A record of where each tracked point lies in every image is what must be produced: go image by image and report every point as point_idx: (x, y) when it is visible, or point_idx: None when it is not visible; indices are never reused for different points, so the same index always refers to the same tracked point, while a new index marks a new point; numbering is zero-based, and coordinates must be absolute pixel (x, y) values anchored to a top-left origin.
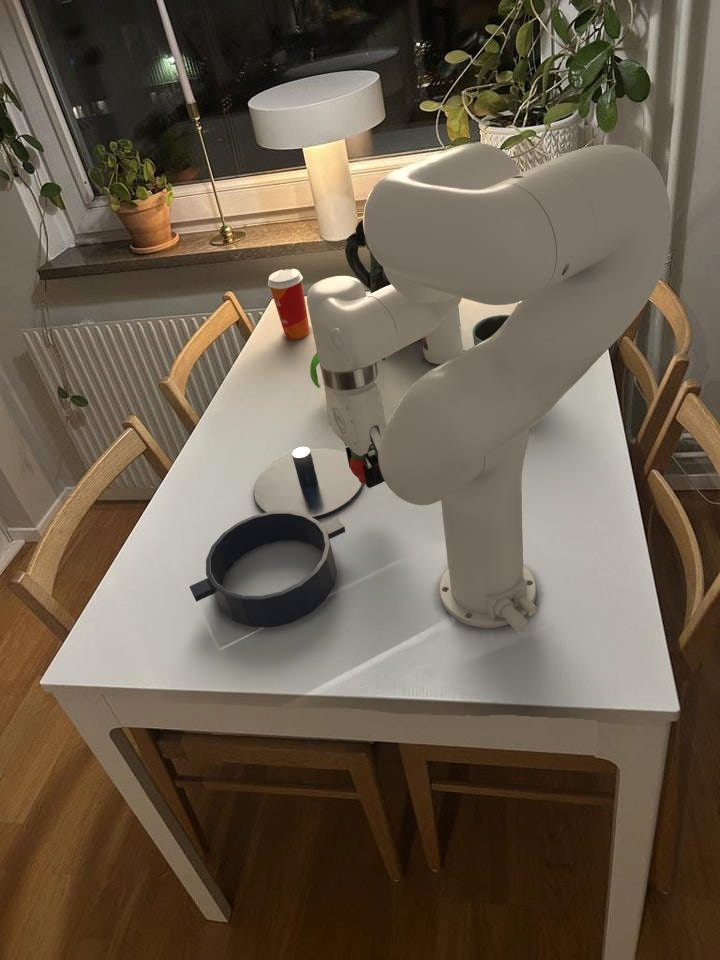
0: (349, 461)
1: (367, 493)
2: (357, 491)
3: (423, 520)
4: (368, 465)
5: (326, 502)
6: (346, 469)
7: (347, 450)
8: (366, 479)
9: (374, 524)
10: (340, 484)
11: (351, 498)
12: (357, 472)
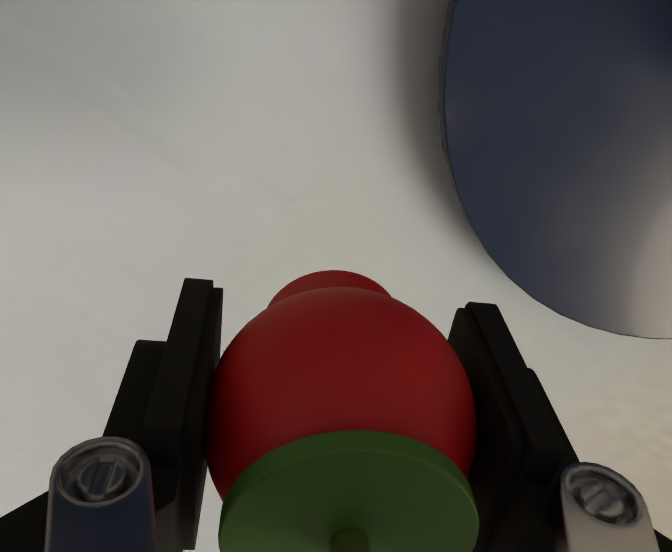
0: (490, 350)
1: (444, 243)
2: (467, 216)
3: (93, 315)
4: (52, 488)
5: (544, 29)
6: (651, 268)
7: (529, 438)
8: (172, 328)
9: (218, 140)
10: (592, 183)
11: (449, 162)
12: (282, 327)
